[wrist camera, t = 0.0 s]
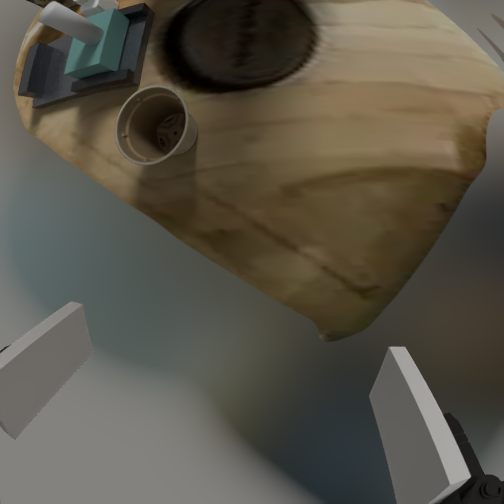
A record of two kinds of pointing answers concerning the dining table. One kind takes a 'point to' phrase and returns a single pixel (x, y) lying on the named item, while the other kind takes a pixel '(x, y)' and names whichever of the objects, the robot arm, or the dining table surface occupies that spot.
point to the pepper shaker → (96, 6)
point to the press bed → (126, 61)
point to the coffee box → (44, 0)
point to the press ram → (89, 39)
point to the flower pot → (154, 125)
